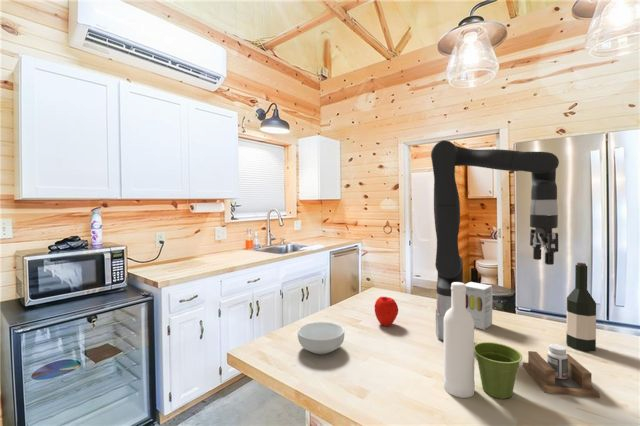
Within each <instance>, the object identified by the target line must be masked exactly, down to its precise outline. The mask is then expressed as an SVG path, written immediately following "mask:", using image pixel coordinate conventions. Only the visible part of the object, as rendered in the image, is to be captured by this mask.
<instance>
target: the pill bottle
mask: <svg viewBox="0 0 640 426" xmlns="http://www.w3.org/2000/svg"><path fill="white" fill-rule="evenodd" d="M566 354H567V348H566V347H565V346H563V345H561V344H556V343H550V344H549V345H548V351H547V354H546V355H547V357H546V358H547V360H546V362H547V363H548V364H549V365H550V366H551V367H552V368H553V369H554V370H555V378H559V379H566V378H567V377H568V356H567V355H566Z"/></svg>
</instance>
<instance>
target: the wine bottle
mask: <svg viewBox="0 0 640 426" xmlns="http://www.w3.org/2000/svg"><path fill="white" fill-rule="evenodd" d="M574 268H575V271H574V272H575V282H574V286H575V287H574V289H573V290H572V291H571V292H570V293H569V295H567V297H566V338H565V339H566V340H565V341H566V346H567V347H569V348H571V349H573V350H576V351H582V352H585V353H592V352H596V351H597V350H596V348H597V347H596V345H597V343H596V341H597V340H596V339H597V303H596V301H595V299H594V297H592V295H591V294H590V293H591V292H589V291H588V265H587V264H586V263H585V262H576V264H575V267H574Z"/></svg>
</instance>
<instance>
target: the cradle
mask: <svg viewBox="0 0 640 426" xmlns="http://www.w3.org/2000/svg"><path fill="white" fill-rule="evenodd" d="M566 355H567V356H568V377H567V378H566V379H559V378H555V370H554V369H553V368H552V367H551V366H550V365H549V364H548V361H547V360H546V359H544V358H543V357H542V356H541V354H539V353H538V351H533V350H532V351H531V350H528V354H527V356H528V357H527V359H528V361H526V362H524V361H522V367H523V368H524V370H525V371H526V372H527V374H528V375H530V377H531V379H533V380H534V382H535V383H536V384H537V386H538V387H539V388H540V389H541V390H542V391H543V393H547V394H549V393H550V394H556V395H557V394H559V395H568V396H580V397H587V398H588V397H590V398H600V397H601V395H600V392H599V391H598V390H597V389H595V388H594V387H593V386H592V372H590V371H589V370H588V369H587V368H586V367H584V366H583V365H582V364H581V363H580V362H578V361H577V360H576V359H575V358H574V357H573V356H571V355H570V354H569V353H566Z"/></svg>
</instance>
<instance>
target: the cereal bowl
mask: <svg viewBox="0 0 640 426" xmlns="http://www.w3.org/2000/svg"><path fill="white" fill-rule="evenodd" d="M297 339H298V342H299V344H300V346H301V347H302V348H303V349H305V350H306V351H308V352H311V353H313V354H316V355H326V354H329V353H331V352H334V351H335V350H338V348H340V347H341V345H343V342H344V340H345V329H344V327H343V326H342V325H339V324H336V323H334V322H328V321H316V322H311V323H310V322H309V323H306V324H304V325H302V326H301V327H299V329H297Z"/></svg>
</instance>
